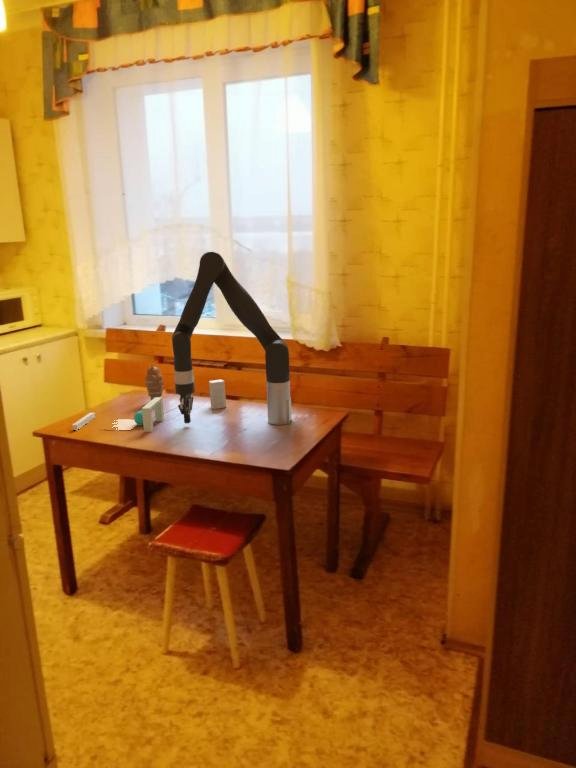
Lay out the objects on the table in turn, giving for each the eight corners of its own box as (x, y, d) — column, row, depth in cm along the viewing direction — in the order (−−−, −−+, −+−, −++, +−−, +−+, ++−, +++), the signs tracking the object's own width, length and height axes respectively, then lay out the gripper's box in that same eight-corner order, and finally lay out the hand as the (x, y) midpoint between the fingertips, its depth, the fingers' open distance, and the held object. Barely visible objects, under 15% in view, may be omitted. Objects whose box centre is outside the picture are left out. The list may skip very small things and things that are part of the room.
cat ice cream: (161, 406, 267) (158, 367, 262) (144, 406, 268) (140, 367, 263) (167, 400, 276) (164, 362, 271) (151, 400, 276) (147, 362, 272)
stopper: (95, 418, 253) (94, 412, 253) (77, 430, 238) (76, 425, 237) (90, 418, 254) (90, 412, 253) (72, 430, 238) (72, 424, 238)
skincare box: (223, 404, 267) (222, 379, 264) (226, 407, 263) (224, 381, 260) (210, 406, 265) (208, 380, 261) (213, 409, 261) (211, 382, 258)
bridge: (164, 419, 249) (162, 397, 246) (151, 432, 234) (149, 408, 232) (157, 419, 249) (155, 397, 247) (144, 431, 235) (141, 408, 232)
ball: (154, 416, 244) (143, 405, 244) (149, 420, 239) (138, 410, 238) (144, 425, 246) (134, 415, 246) (139, 430, 240) (128, 419, 240)
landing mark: (142, 420, 249) (142, 419, 249) (130, 430, 237) (130, 430, 236) (112, 419, 251) (112, 419, 251) (99, 430, 238) (99, 429, 238)
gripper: (188, 385, 228) (191, 428, 233) (198, 376, 241) (201, 417, 245) (169, 385, 229) (173, 428, 234) (180, 376, 242) (183, 417, 246)
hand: (187, 422), depth 239 cm, fingers closed
